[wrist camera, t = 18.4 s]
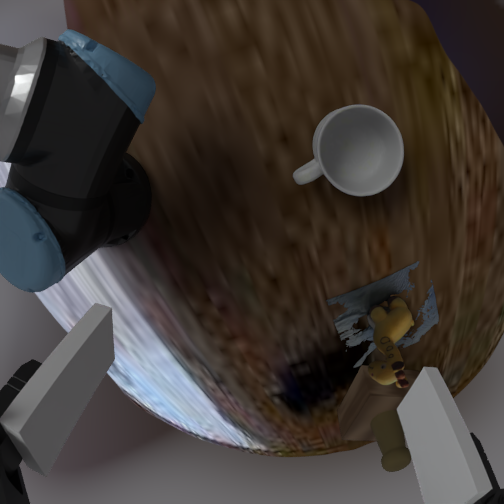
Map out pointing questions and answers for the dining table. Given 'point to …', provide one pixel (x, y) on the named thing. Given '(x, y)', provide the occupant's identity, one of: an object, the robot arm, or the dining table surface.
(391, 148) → the teacup
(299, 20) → the dining table surface
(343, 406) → the walnut block
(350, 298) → the stuffed giraffe
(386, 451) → the cork
